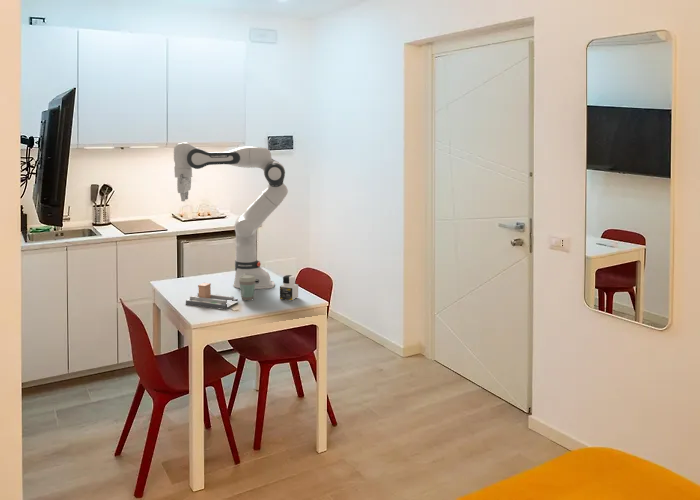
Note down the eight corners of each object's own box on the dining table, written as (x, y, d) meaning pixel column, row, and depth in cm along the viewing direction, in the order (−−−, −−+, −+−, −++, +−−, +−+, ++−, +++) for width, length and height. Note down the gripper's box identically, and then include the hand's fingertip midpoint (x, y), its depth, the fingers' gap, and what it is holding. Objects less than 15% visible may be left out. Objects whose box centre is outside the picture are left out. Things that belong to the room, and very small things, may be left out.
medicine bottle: (279, 299, 317) (279, 276, 315) (286, 296, 323) (285, 273, 321) (292, 301, 314) (292, 278, 312) (298, 297, 321) (298, 275, 319)
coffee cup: (241, 296, 321) (241, 274, 319) (257, 297, 320) (257, 274, 318) (237, 301, 313) (236, 278, 310) (253, 301, 312) (253, 278, 310)
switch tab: (198, 299, 307) (197, 285, 306) (204, 296, 312) (203, 282, 311) (205, 300, 306) (205, 286, 304) (211, 297, 311) (210, 283, 309)
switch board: (185, 304, 306) (185, 297, 305) (199, 298, 317) (199, 291, 316) (225, 309, 299) (224, 302, 298) (237, 302, 310) (237, 296, 309)
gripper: (186, 175, 316) (187, 202, 319) (192, 172, 336) (193, 198, 339) (173, 175, 316) (175, 202, 318) (180, 172, 336) (181, 198, 338)
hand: (184, 200), depth 329 cm, fingers open, 8 cm apart
